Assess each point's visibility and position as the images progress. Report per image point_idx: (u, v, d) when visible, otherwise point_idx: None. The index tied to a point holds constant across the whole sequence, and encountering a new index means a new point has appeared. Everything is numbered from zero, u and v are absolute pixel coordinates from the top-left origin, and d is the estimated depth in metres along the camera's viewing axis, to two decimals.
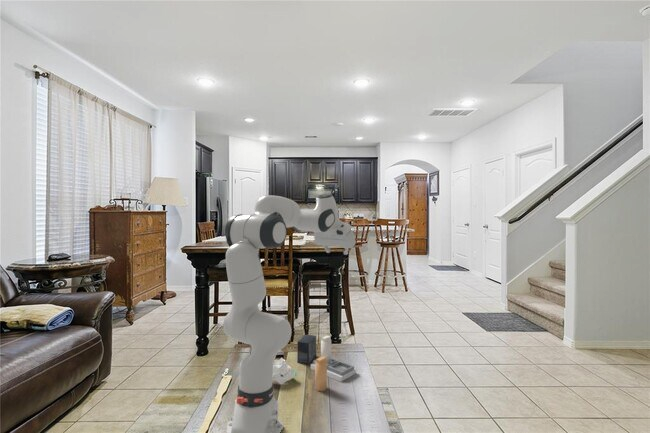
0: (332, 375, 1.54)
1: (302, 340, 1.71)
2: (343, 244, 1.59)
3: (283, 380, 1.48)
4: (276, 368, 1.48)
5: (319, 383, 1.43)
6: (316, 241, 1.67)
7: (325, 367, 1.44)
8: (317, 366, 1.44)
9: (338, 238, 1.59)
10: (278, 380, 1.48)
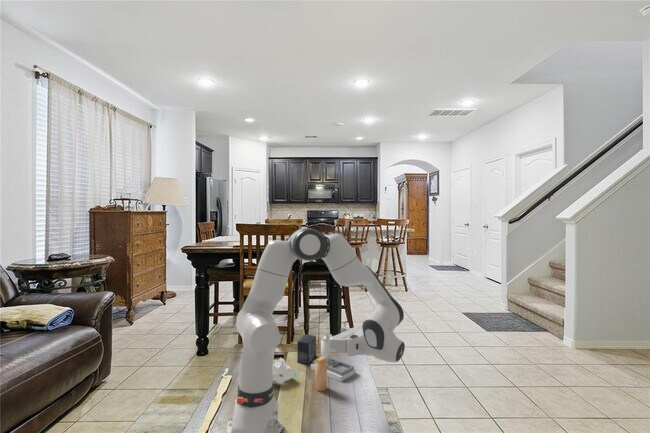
0: (332, 375, 1.54)
1: (302, 340, 1.71)
2: (338, 335, 1.34)
3: (282, 380, 1.48)
4: (275, 368, 1.48)
5: (319, 383, 1.43)
6: (360, 326, 1.45)
7: (325, 367, 1.44)
8: (317, 366, 1.44)
9: (348, 336, 1.34)
10: (277, 380, 1.48)
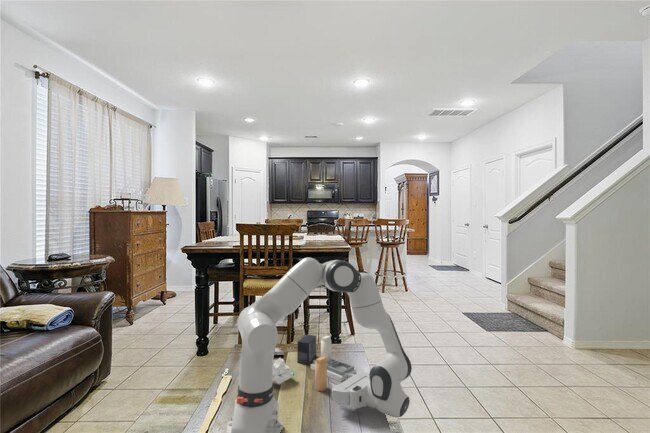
0: (332, 375, 1.54)
1: (302, 340, 1.71)
2: (341, 385, 1.31)
3: (281, 379, 1.48)
4: (274, 368, 1.48)
5: (319, 383, 1.43)
6: (363, 372, 1.42)
7: (325, 367, 1.44)
8: (317, 366, 1.44)
9: (351, 386, 1.31)
10: (276, 379, 1.48)
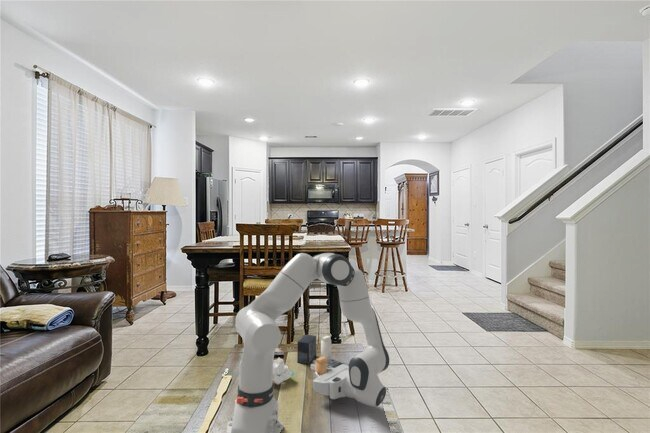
0: None
1: (302, 340, 1.71)
2: (322, 377, 1.38)
3: (280, 379, 1.48)
4: (273, 368, 1.48)
5: None
6: (345, 365, 1.49)
7: (325, 367, 1.44)
8: (317, 366, 1.44)
9: (331, 378, 1.37)
10: (275, 379, 1.48)
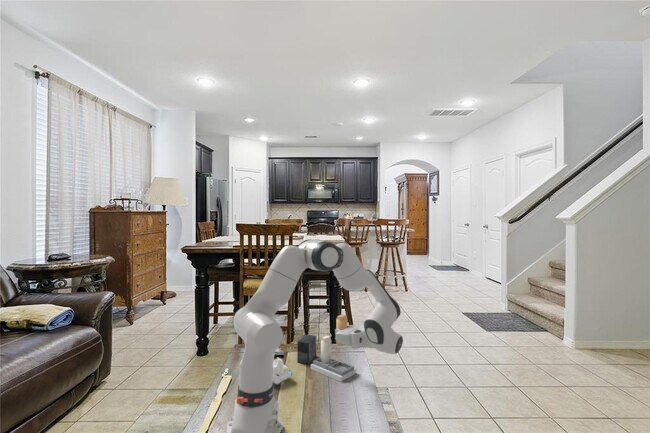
0: (332, 375, 1.54)
1: (302, 340, 1.71)
2: (344, 330, 1.50)
3: (279, 379, 1.48)
4: None
5: None
6: (363, 322, 1.61)
7: (346, 323, 1.56)
8: (338, 322, 1.56)
9: (352, 331, 1.50)
10: (274, 379, 1.48)
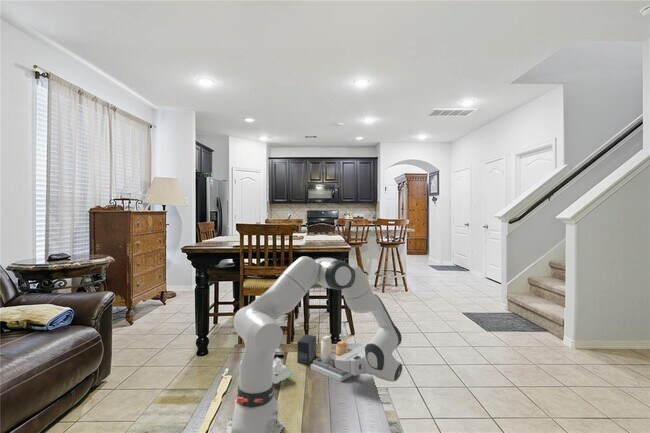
0: (332, 375, 1.54)
1: (302, 340, 1.71)
2: (343, 356, 1.50)
3: (278, 379, 1.49)
4: None
5: None
6: (362, 346, 1.61)
7: (345, 350, 1.57)
8: (338, 349, 1.56)
9: (351, 357, 1.50)
10: (273, 379, 1.49)
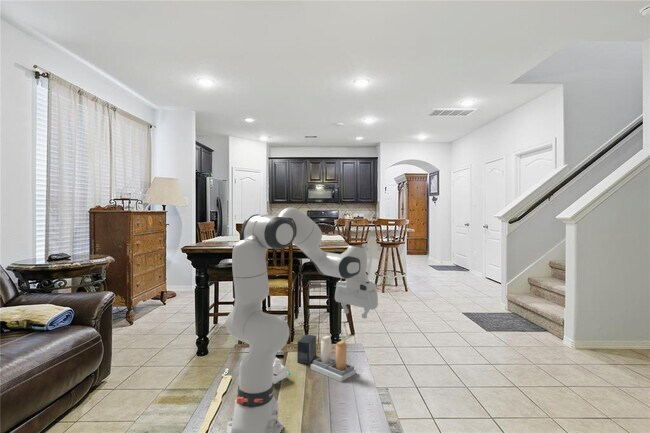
0: (332, 375, 1.54)
1: (302, 340, 1.71)
2: (364, 303, 1.45)
3: (277, 379, 1.49)
4: None
5: (340, 364, 1.56)
6: (336, 297, 1.55)
7: (345, 349, 1.57)
8: (337, 349, 1.56)
9: (360, 296, 1.47)
10: None
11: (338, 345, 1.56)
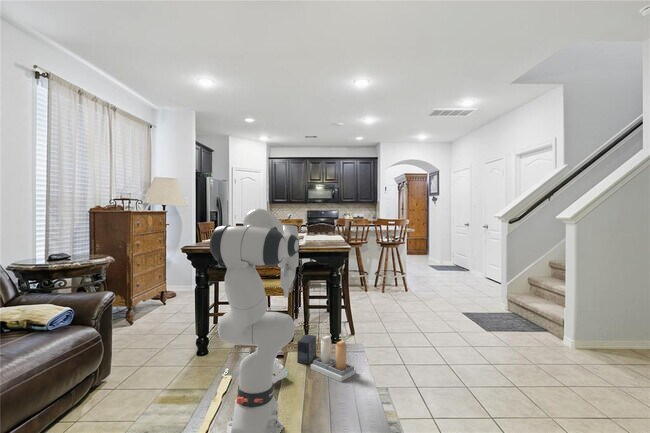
0: (332, 375, 1.54)
1: (302, 340, 1.71)
2: (293, 277, 1.57)
3: (275, 379, 1.49)
4: None
5: (340, 364, 1.56)
6: (289, 283, 1.42)
7: (345, 349, 1.57)
8: (337, 349, 1.56)
9: (292, 271, 1.55)
10: None
11: (338, 345, 1.57)
